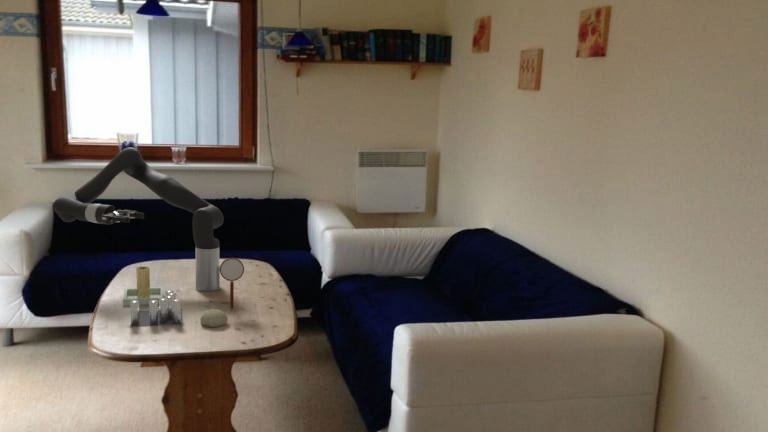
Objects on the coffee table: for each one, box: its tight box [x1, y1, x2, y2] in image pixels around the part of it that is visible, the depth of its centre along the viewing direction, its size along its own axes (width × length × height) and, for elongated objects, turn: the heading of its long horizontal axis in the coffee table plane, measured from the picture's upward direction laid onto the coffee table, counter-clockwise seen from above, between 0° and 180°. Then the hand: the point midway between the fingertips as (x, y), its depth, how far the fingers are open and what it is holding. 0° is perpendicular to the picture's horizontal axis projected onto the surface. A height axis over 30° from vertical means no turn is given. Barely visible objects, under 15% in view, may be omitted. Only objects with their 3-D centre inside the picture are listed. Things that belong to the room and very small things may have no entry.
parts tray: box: [122, 286, 164, 307], centre depth 261 cm, size 14×14×3 cm
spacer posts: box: [129, 289, 182, 326], centre depth 240 cm, size 16×14×8 cm
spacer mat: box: [129, 308, 184, 328], centre depth 242 cm, size 17×17×1 cm
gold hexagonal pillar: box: [136, 266, 151, 298], centre depth 260 cm, size 5×4×12 cm
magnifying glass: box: [219, 257, 245, 312], centre depth 253 cm, size 9×2×20 cm, turn 102°
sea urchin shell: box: [199, 308, 229, 328], centre depth 240 cm, size 9×8×8 cm
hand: (136, 217), depth 264 cm, fingers open, 8 cm apart
